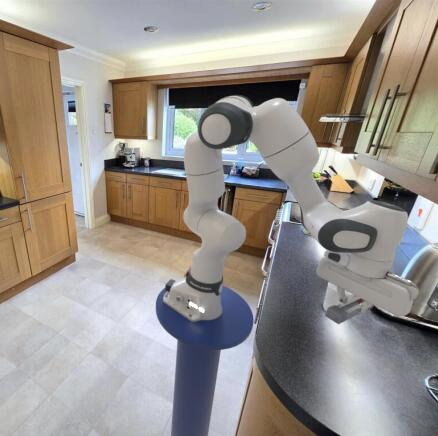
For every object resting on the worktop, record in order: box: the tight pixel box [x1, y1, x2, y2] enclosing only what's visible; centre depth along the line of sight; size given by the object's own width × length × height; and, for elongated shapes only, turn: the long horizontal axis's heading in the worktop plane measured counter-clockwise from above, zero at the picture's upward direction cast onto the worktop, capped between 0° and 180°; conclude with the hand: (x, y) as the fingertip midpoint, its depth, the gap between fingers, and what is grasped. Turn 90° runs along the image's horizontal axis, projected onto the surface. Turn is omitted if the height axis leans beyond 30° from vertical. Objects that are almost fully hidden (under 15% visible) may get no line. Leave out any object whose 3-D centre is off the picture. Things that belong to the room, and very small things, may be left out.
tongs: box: [324, 295, 374, 325], centre depth 67 cm, size 16×4×3 cm, turn 114°
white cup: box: [322, 282, 356, 312], centre depth 86 cm, size 8×8×10 cm
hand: (351, 306), depth 67 cm, fingers closed on tongs, 3 cm apart
